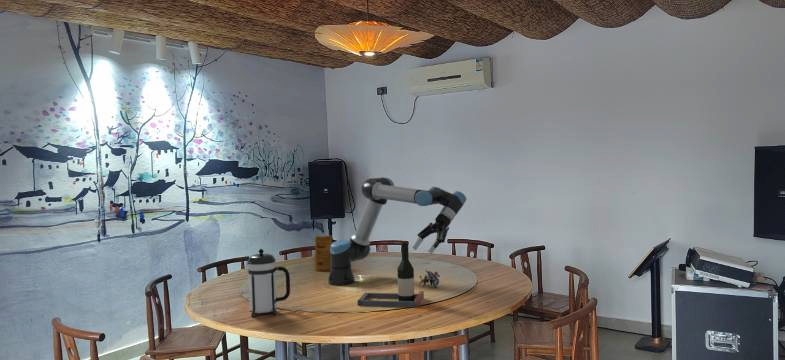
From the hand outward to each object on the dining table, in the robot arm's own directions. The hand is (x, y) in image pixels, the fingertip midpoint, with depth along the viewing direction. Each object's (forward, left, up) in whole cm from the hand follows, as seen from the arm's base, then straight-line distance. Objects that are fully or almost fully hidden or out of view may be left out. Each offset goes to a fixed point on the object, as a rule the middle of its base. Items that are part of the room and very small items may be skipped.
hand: (421, 250), depth 262 cm
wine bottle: (-7, -6, -25) cm, 26 cm away
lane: (-15, -6, -24) cm, 29 cm away
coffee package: (-74, +67, -25) cm, 102 cm away
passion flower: (0, +25, -25) cm, 35 cm away
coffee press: (-70, -29, -25) cm, 80 cm away
